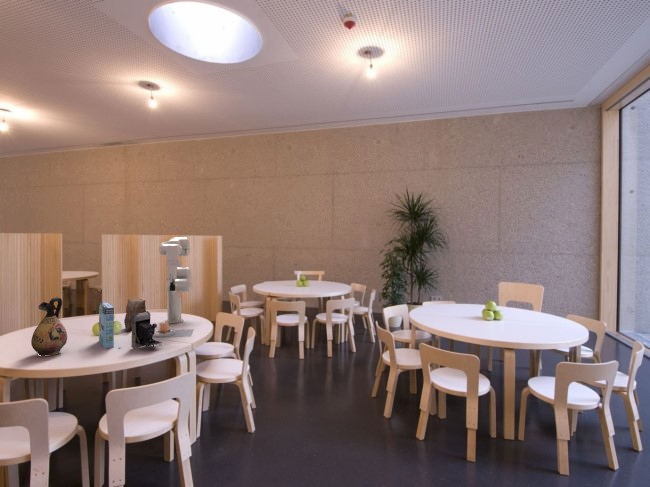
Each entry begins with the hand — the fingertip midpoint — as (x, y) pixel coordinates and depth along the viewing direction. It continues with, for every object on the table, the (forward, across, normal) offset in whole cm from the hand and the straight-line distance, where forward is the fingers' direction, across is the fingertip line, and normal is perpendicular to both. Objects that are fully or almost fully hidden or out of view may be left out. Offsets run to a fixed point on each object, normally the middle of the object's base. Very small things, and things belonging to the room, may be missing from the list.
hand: (172, 290), depth 243 cm
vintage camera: (+27, +36, -8) cm, 46 cm away
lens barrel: (+26, +13, -3) cm, 29 cm away
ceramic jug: (+27, +34, -56) cm, 71 cm away
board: (+27, +13, +2) cm, 30 cm away
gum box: (+27, +22, -33) cm, 48 cm away
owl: (+27, -11, -27) cm, 40 cm away
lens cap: (+26, +13, -3) cm, 29 cm away
